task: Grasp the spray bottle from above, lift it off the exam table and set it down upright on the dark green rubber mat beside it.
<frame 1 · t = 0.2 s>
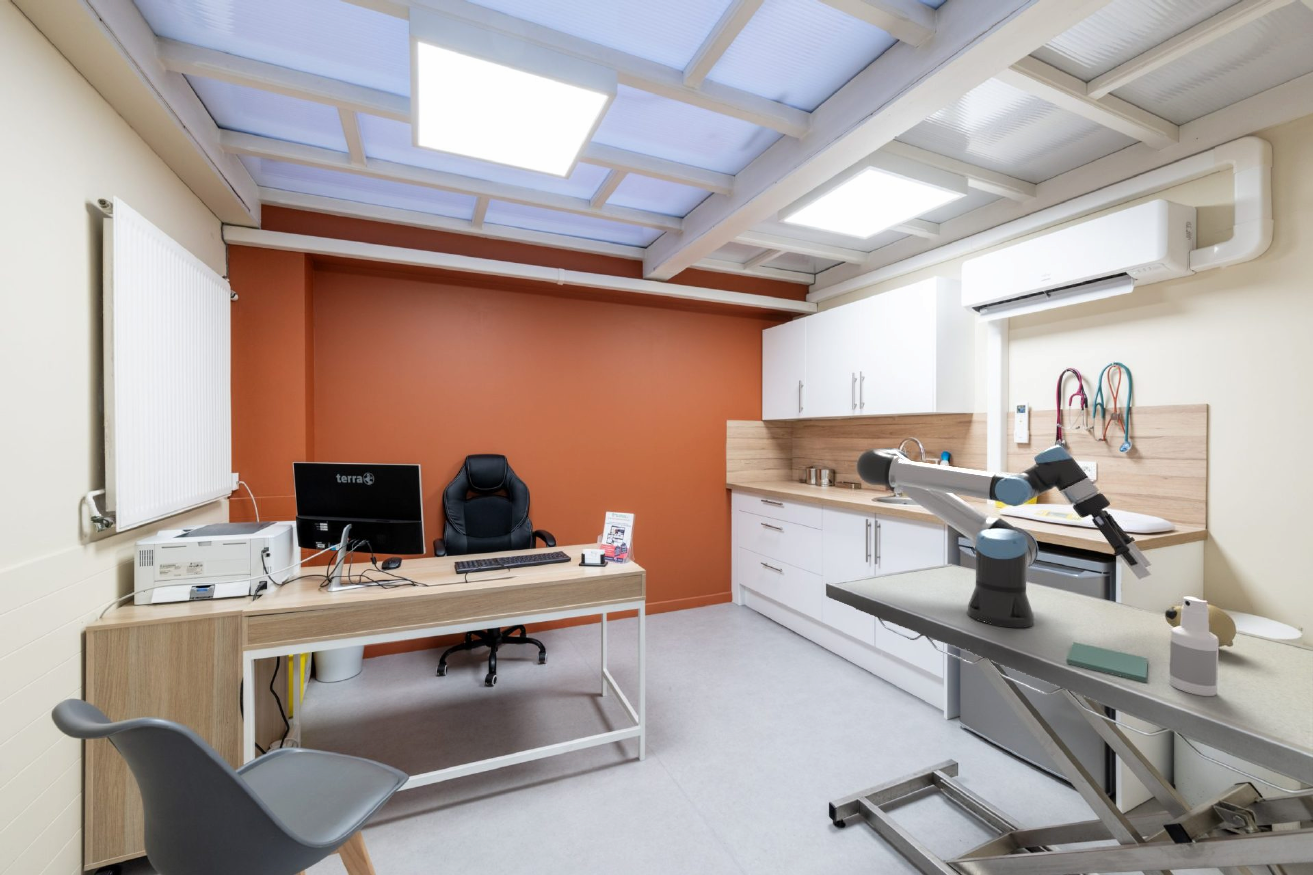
hand: (1145, 571, 139), 16 cm above the table, tool tilted 35°, fingers open, 13 cm apart
mat: (1107, 662, 121), on the table
toy pig: (1199, 647, 131), on the table
spray bottle: (1192, 689, 110), on the table
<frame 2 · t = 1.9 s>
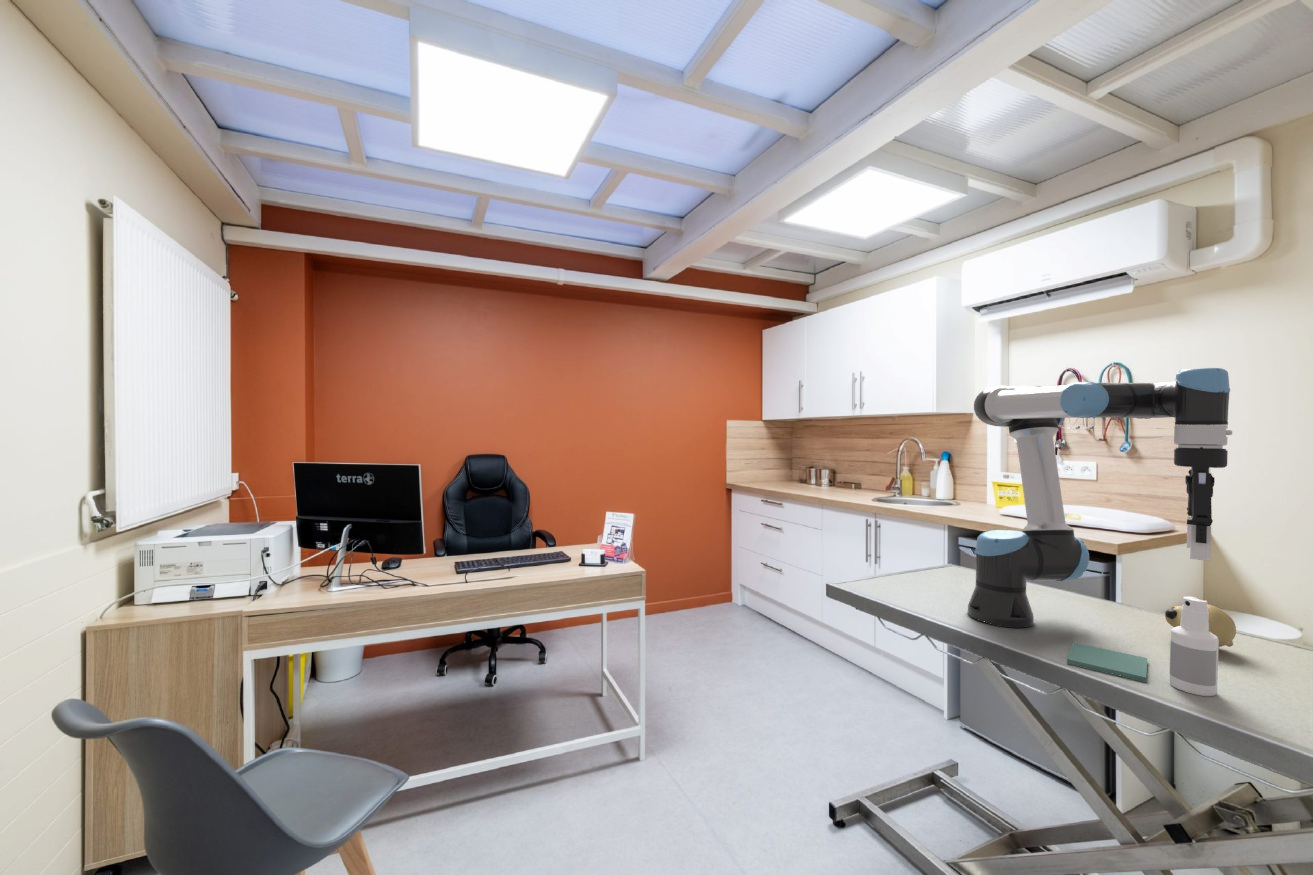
hand: (1197, 554, 109), 27 cm above the table, tool pointing down, fingers open, 13 cm apart
nothing on the table moved.
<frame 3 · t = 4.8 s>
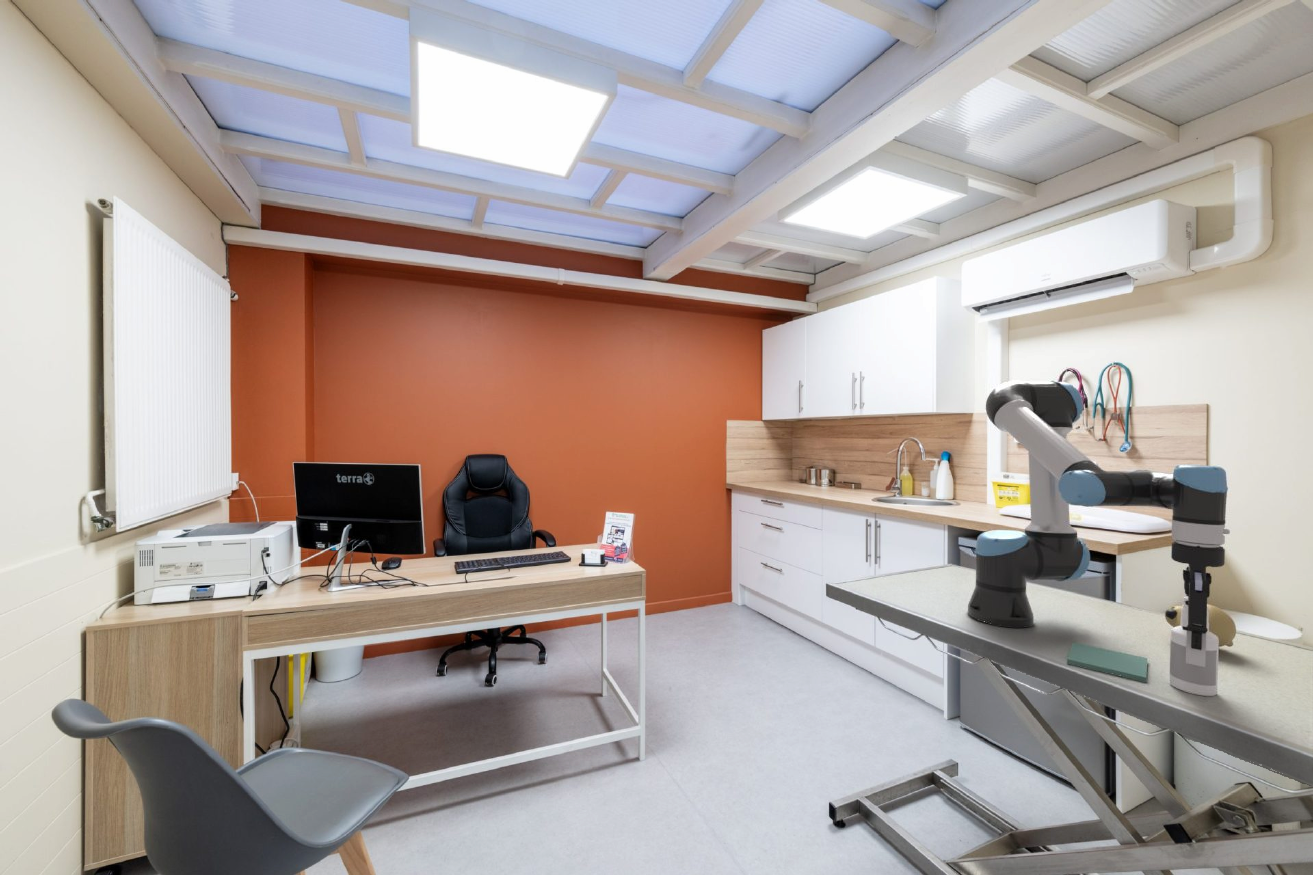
hand: (1194, 658, 109), 6 cm above the table, tool pointing down, fingers closed on spray bottle, 7 cm apart
spray bottle: (1192, 689, 110), on the table, touching gripper
everything else where it was.
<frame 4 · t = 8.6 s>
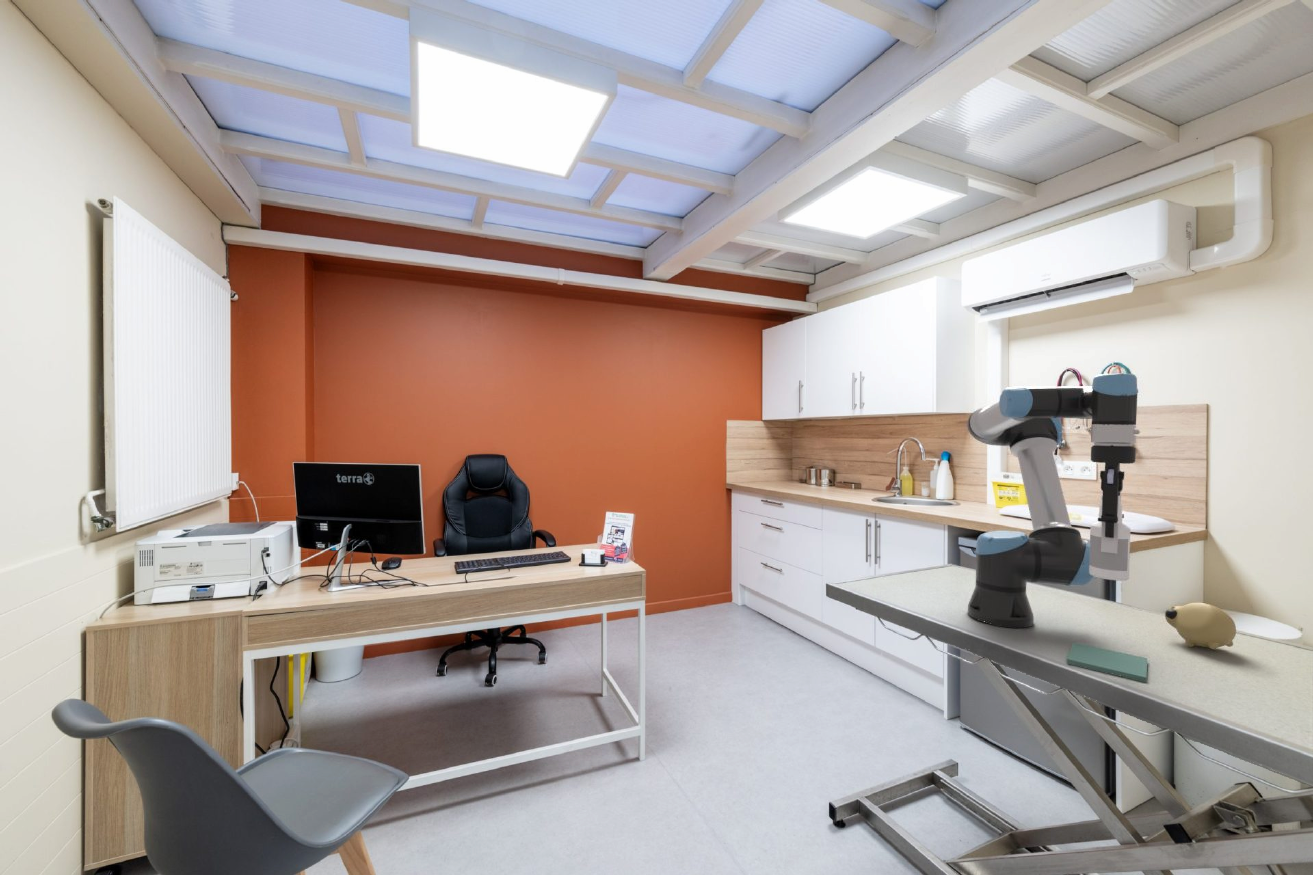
hand: (1110, 549, 121), 25 cm above the table, tool pointing down, fingers closed on spray bottle, 7 cm apart
spray bottle: (1108, 577, 121), point 19 cm above the table, touching gripper
everything else where it was.
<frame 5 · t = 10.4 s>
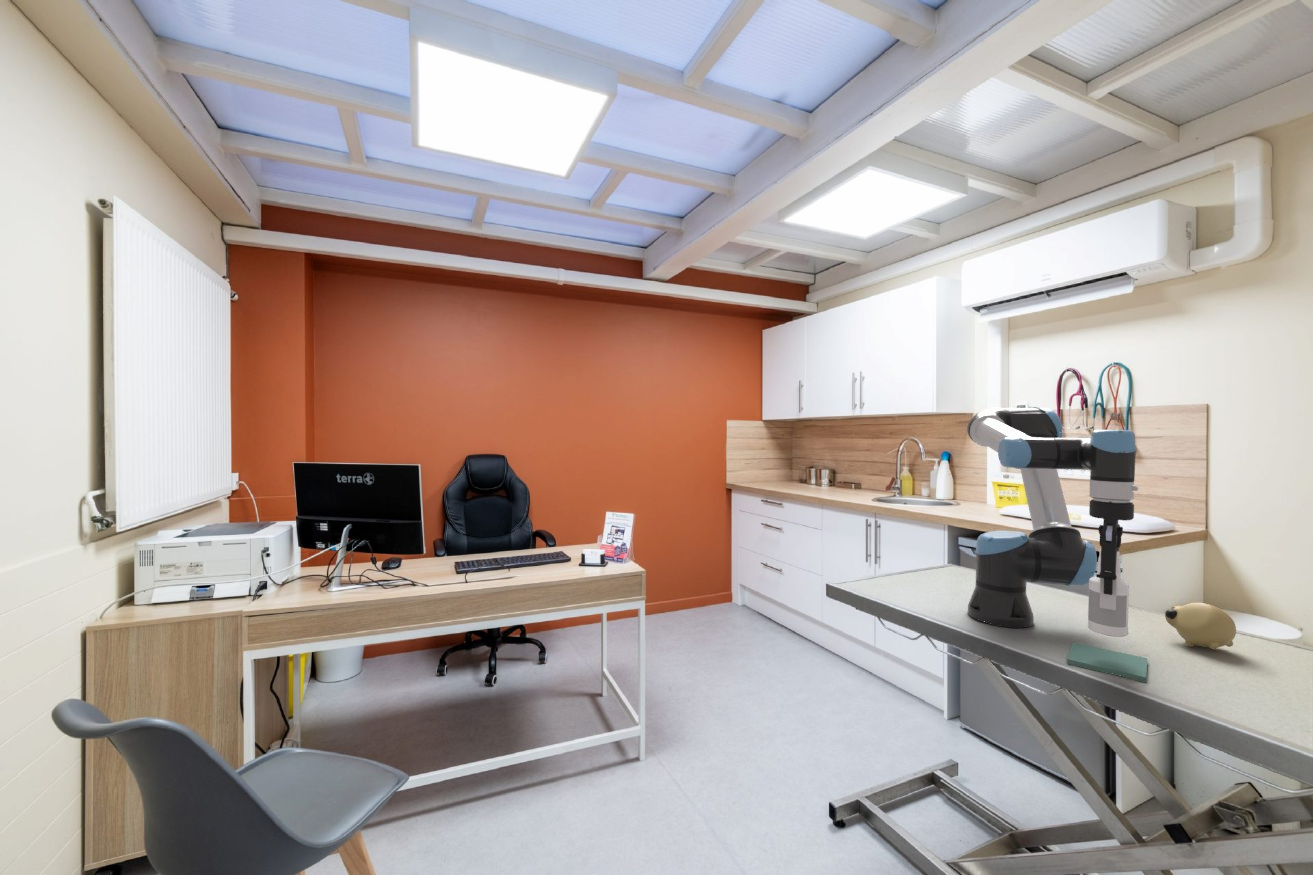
hand: (1108, 604, 121), 13 cm above the table, tool pointing down, fingers closed on spray bottle, 7 cm apart
spray bottle: (1107, 632, 121), point 7 cm above the table, touching gripper
everything else where it was.
when the fingers open (8 cm above the table, at t = 12.2 s): spray bottle drops 1 cm, resting on mat.
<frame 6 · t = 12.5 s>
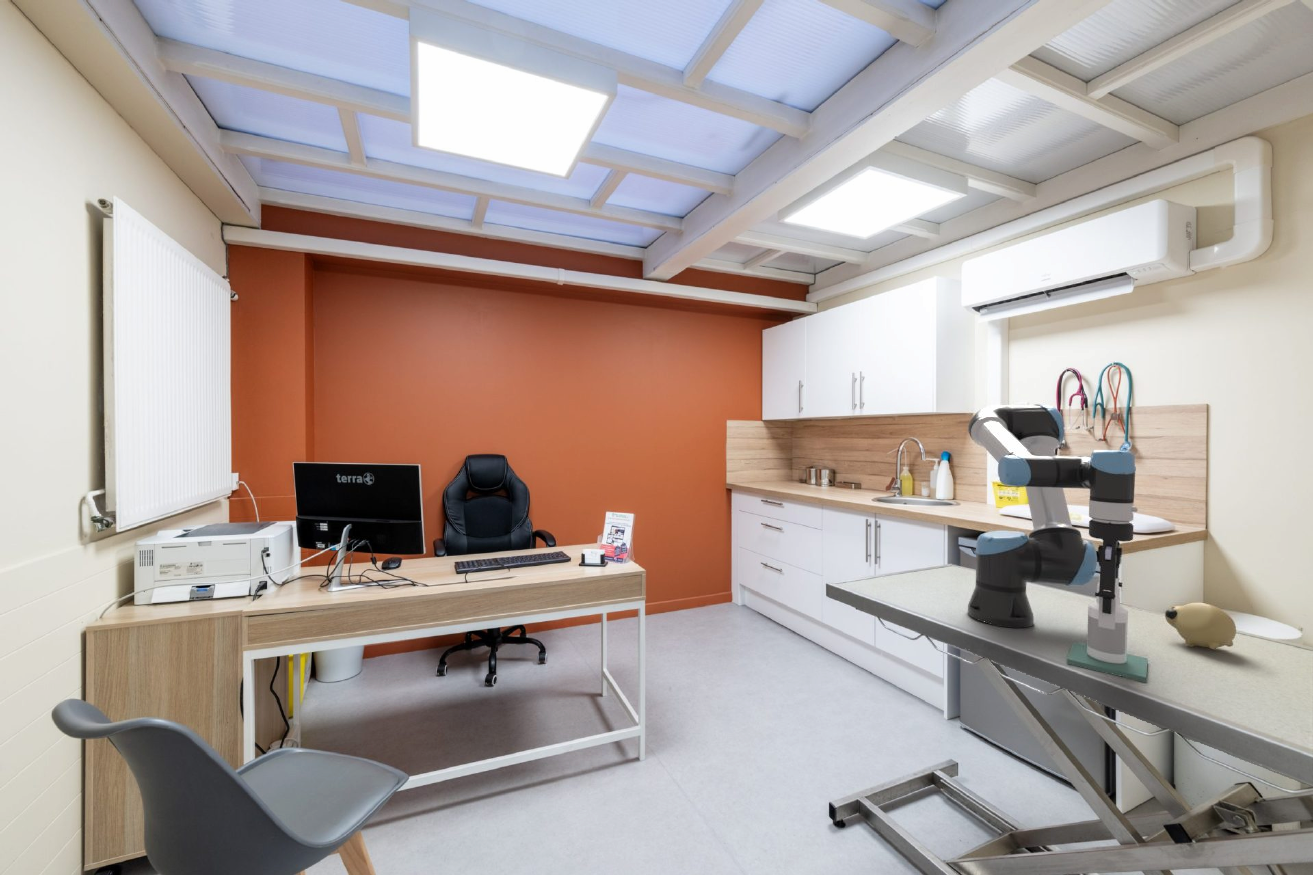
hand: (1108, 621, 121), 9 cm above the table, tool pointing down, fingers open, 10 cm apart
spray bottle: (1106, 658, 122), point 1 cm above the table, touching mat
everything else where it was.
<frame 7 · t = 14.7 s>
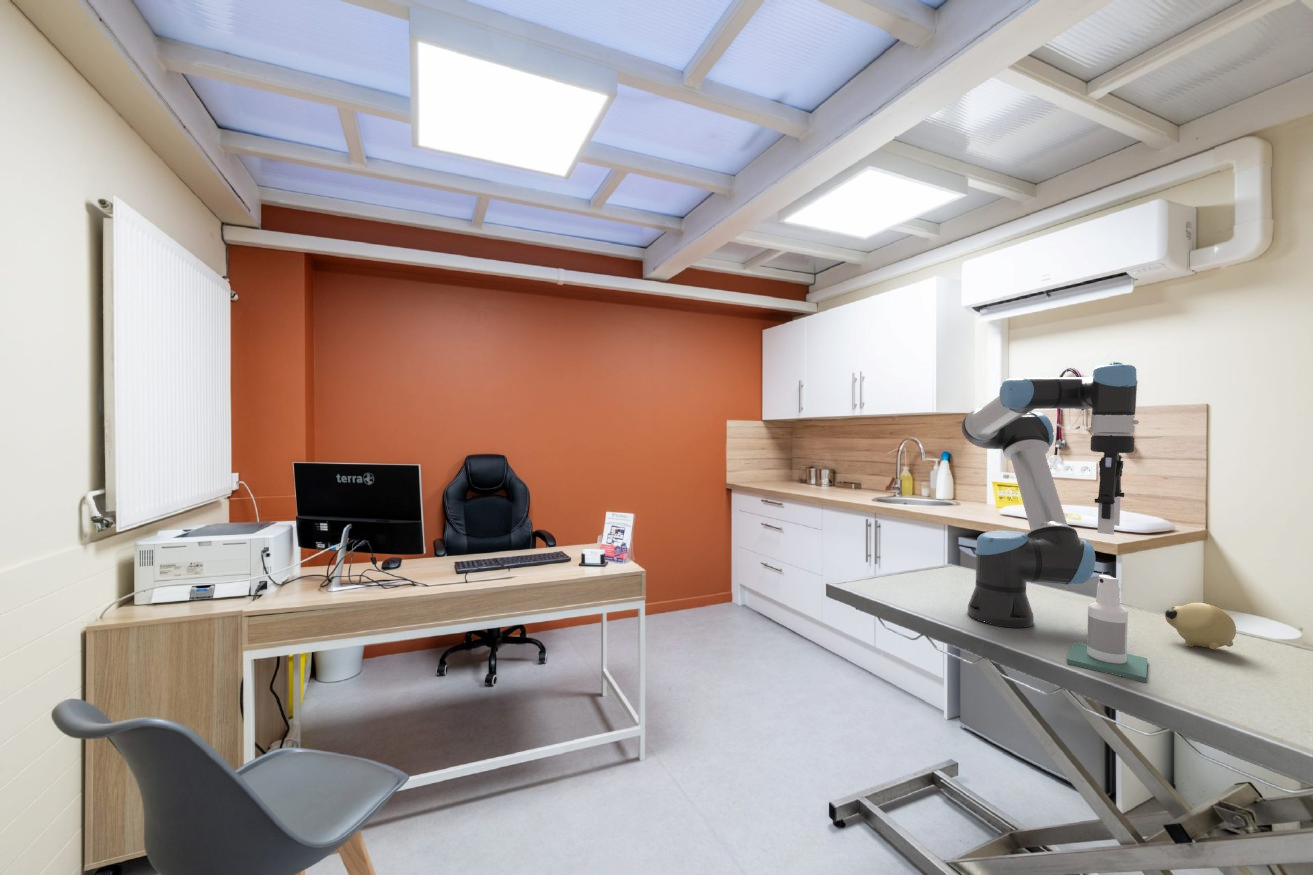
hand: (1108, 529, 124), 29 cm above the table, tool pointing down, fingers open, 13 cm apart
nothing on the table moved.
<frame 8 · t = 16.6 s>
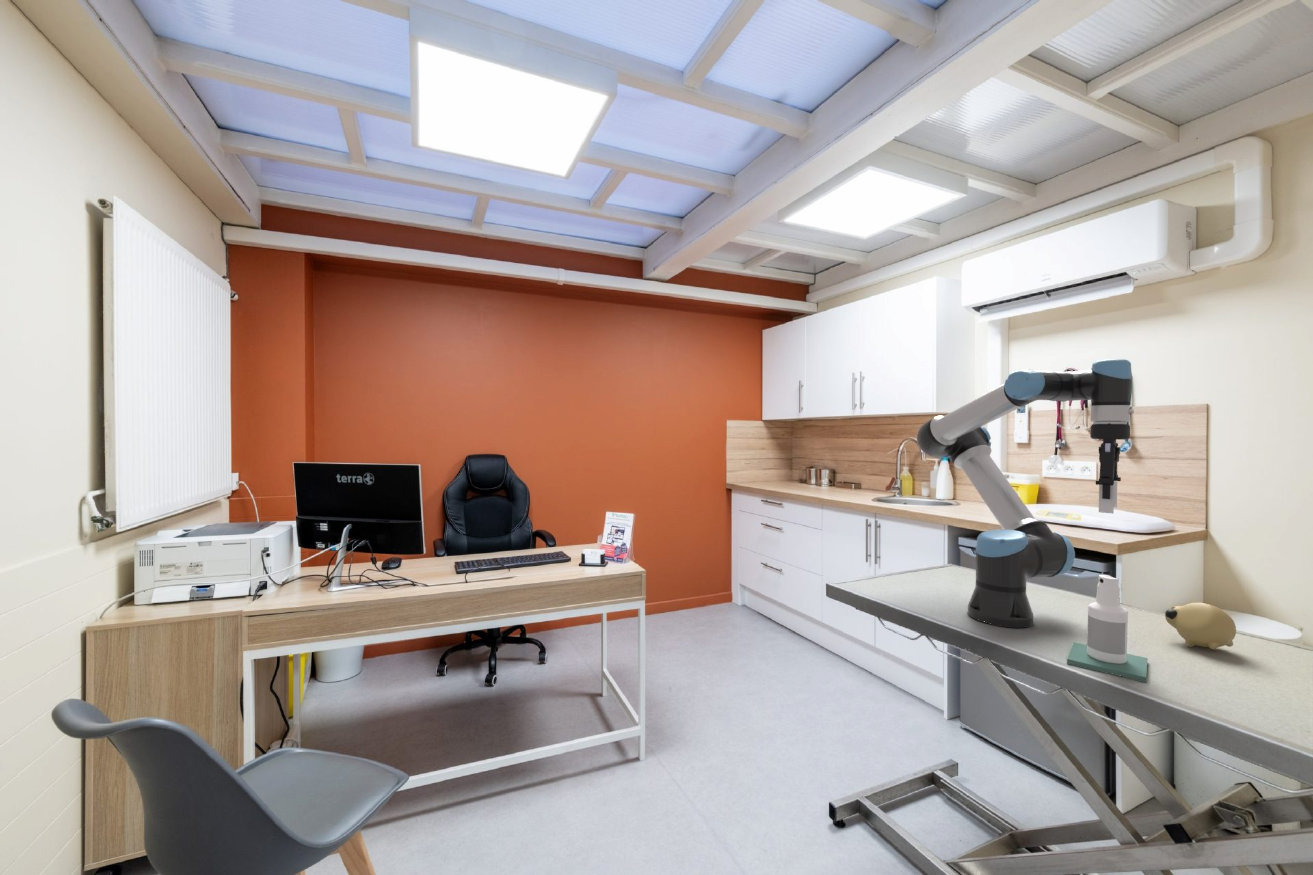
hand: (1107, 509, 135), 32 cm above the table, tool pointing down, fingers open, 13 cm apart
nothing on the table moved.
at the end: spray bottle inside the target area on the mat (0.3 cm from its centre), point 0.8 cm above the mat's base; spray bottle tilted 0°; the gripper is holding nothing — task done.
